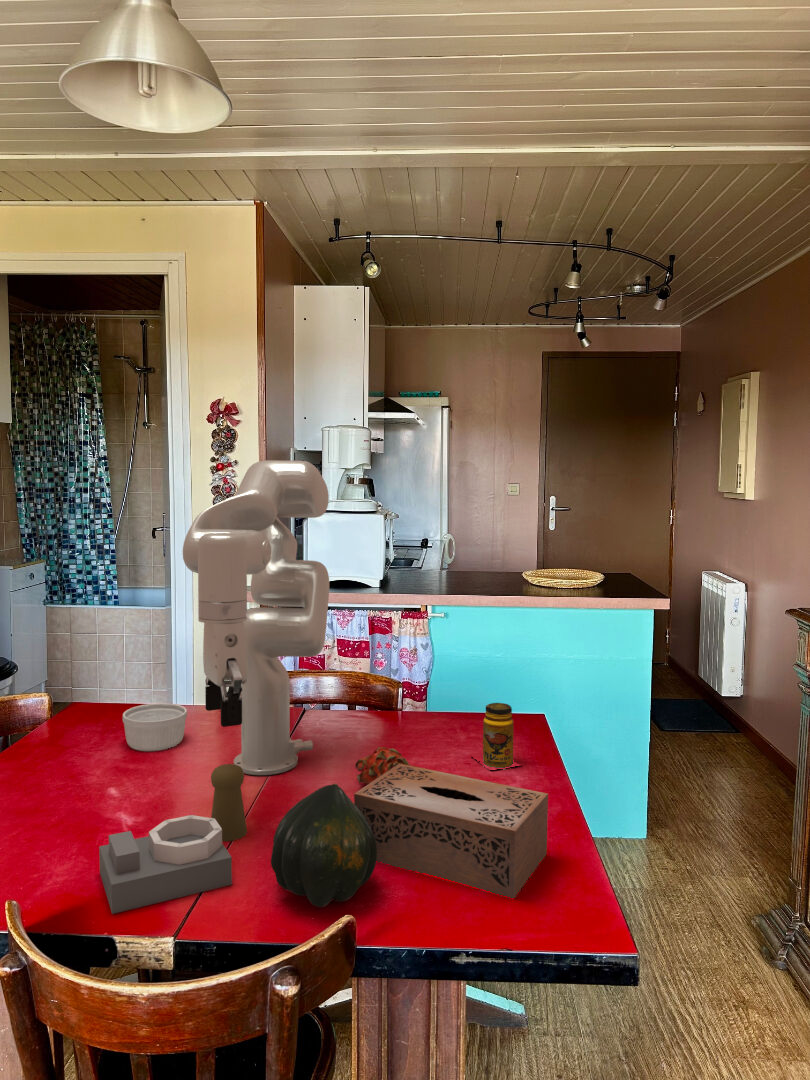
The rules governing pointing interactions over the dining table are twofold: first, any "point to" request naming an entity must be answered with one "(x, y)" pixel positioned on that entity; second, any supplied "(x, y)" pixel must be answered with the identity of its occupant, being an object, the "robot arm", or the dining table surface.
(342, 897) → the squash
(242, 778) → the brown pawn shaped peg
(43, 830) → the dining table surface
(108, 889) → the mount
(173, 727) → the ramekin
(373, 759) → the dragon fruit
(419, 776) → the tissue box cover
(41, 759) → the dining table surface
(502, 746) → the condiment
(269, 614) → the robot arm
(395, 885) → the dining table surface
